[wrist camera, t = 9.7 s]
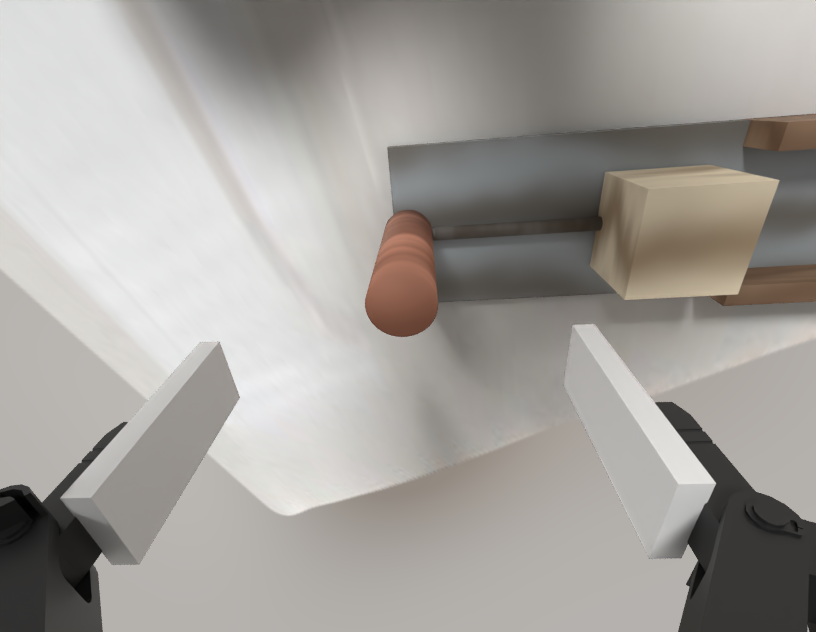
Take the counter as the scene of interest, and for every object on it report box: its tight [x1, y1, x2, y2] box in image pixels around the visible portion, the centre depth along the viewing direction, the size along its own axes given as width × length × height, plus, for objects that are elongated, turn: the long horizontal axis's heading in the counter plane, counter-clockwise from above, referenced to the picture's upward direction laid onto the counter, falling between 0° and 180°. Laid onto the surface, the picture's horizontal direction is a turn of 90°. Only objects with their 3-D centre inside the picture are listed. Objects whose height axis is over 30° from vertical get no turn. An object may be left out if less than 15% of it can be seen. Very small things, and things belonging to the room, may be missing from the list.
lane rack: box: [388, 114, 816, 306], centre depth 27 cm, size 12×37×5 cm, turn 94°
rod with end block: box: [365, 165, 780, 337], centre depth 24 cm, size 7×23×12 cm, turn 94°
